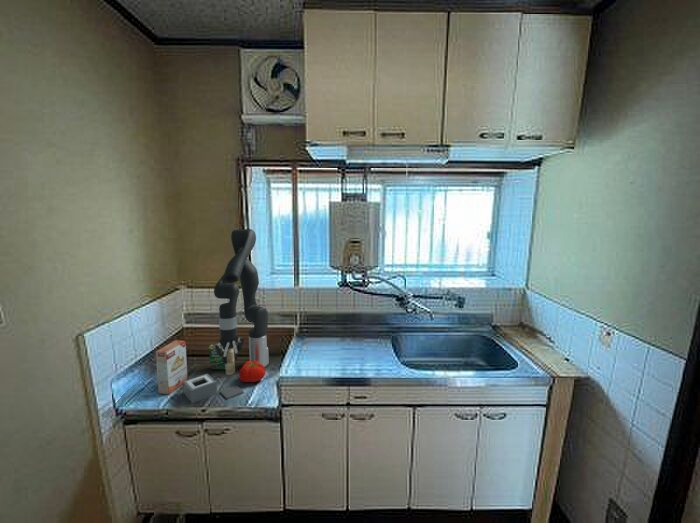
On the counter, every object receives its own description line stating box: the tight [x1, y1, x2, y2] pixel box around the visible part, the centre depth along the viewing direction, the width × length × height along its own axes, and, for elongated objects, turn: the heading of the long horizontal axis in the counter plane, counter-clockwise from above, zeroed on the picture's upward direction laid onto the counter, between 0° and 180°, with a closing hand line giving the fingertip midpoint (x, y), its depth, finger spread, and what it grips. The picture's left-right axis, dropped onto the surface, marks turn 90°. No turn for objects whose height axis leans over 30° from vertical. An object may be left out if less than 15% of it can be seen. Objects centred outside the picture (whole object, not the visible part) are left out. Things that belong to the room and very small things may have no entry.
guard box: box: [182, 373, 218, 404], centre depth 153 cm, size 11×11×6 cm
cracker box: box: [155, 339, 189, 395], centre depth 158 cm, size 14×6×21 cm, turn 172°
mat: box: [219, 384, 245, 400], centre depth 155 cm, size 8×8×1 cm
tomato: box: [238, 360, 266, 383], centre depth 166 cm, size 14×13×9 cm
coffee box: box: [208, 344, 226, 370], centre depth 177 cm, size 8×3×13 cm, turn 88°
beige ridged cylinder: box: [225, 347, 236, 376], centre depth 152 cm, size 4×4×12 cm
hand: (229, 361), depth 152 cm, fingers closed on beige ridged cylinder, 4 cm apart
